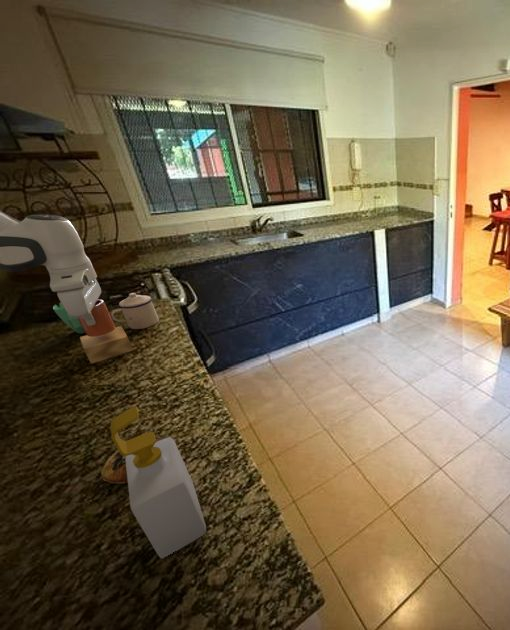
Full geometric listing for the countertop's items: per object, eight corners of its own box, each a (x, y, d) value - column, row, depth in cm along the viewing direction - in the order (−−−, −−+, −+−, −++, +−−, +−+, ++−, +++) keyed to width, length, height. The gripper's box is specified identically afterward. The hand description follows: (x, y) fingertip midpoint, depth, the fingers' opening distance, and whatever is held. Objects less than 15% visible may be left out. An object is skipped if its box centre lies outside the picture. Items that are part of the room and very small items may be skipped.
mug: (67, 328, 118) (54, 302, 114) (104, 320, 124) (92, 295, 119) (64, 346, 108) (49, 317, 104) (104, 336, 114) (91, 309, 109)
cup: (84, 338, 99) (70, 310, 95) (89, 329, 104) (76, 302, 100) (113, 333, 102) (101, 305, 98) (117, 324, 107) (105, 297, 103)
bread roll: (172, 468, 67) (159, 451, 65) (103, 501, 63) (86, 483, 60) (174, 433, 76) (162, 417, 73) (113, 460, 71) (99, 443, 69)
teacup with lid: (158, 315, 127) (147, 286, 122) (161, 324, 121) (149, 294, 116) (117, 325, 121) (104, 294, 115) (117, 335, 114) (103, 303, 109)
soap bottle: (208, 533, 56) (160, 427, 46) (160, 562, 52) (95, 453, 42) (193, 483, 64) (149, 384, 54) (150, 505, 61) (94, 402, 50)
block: (91, 363, 100) (83, 349, 97) (86, 351, 106) (79, 337, 103) (133, 350, 106) (127, 336, 104) (127, 339, 112) (121, 325, 110)
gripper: (68, 266, 101) (88, 308, 107) (47, 288, 86) (72, 336, 92) (96, 262, 104) (114, 303, 110) (80, 283, 89) (102, 330, 95)
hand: (95, 318), depth 101 cm, fingers closed on cup, 6 cm apart
